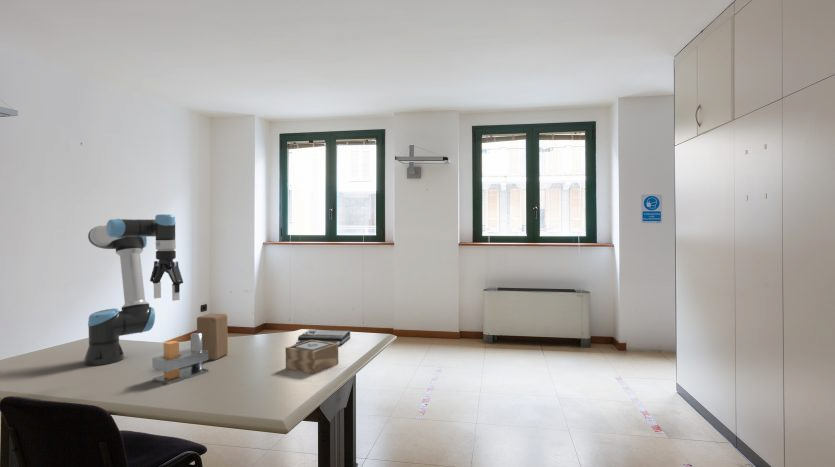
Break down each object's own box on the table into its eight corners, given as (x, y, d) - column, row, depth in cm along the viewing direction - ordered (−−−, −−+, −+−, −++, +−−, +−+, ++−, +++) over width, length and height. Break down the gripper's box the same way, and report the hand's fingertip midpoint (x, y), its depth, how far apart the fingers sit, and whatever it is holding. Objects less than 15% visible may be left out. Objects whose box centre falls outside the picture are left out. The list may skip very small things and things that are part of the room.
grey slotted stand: (152, 380, 183) (152, 340, 182) (194, 368, 198) (193, 331, 198) (167, 384, 178) (166, 343, 177) (208, 371, 193) (208, 334, 193)
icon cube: (295, 369, 195) (295, 346, 195) (312, 363, 204) (311, 341, 204) (313, 373, 190) (313, 349, 190) (329, 366, 199) (328, 344, 199)
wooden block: (215, 360, 209) (214, 317, 209) (196, 359, 211) (195, 317, 211) (228, 354, 219) (228, 313, 219) (210, 353, 221) (209, 313, 221)
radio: (350, 329, 250) (339, 338, 230) (350, 338, 250) (339, 348, 230) (308, 328, 254) (293, 336, 234) (308, 337, 254) (293, 347, 234)
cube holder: (285, 368, 197) (285, 347, 197) (311, 358, 211) (311, 339, 210) (313, 373, 189) (313, 352, 189) (338, 363, 203) (338, 343, 202)
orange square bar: (164, 377, 184) (163, 342, 184) (173, 374, 187) (173, 340, 187) (169, 378, 182) (169, 344, 182) (179, 376, 185) (178, 341, 185)
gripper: (140, 250, 199) (141, 298, 199) (174, 251, 186) (175, 302, 186) (157, 249, 205) (158, 296, 205) (191, 250, 193) (192, 299, 193)
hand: (166, 299), depth 196 cm, fingers open, 13 cm apart
